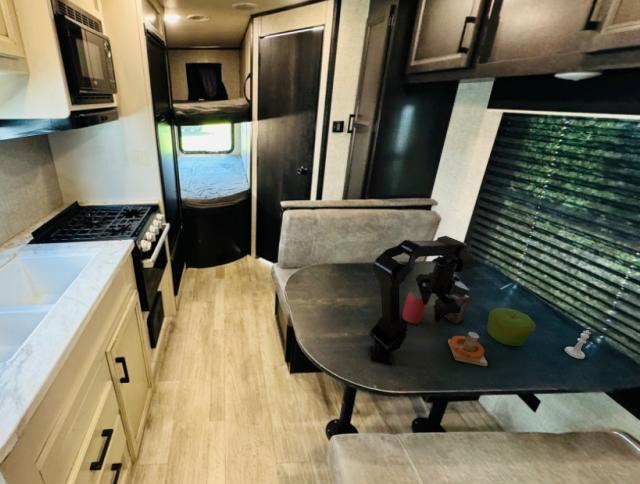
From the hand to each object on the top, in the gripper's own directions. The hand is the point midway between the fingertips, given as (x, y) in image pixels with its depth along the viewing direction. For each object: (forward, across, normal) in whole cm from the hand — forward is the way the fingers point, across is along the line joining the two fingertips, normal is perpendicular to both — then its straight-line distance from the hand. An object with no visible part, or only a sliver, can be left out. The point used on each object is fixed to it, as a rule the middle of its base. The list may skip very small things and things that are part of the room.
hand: (430, 312), depth 108 cm
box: (+12, +13, -16) cm, 24 cm away
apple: (+12, +3, -29) cm, 32 cm away
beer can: (+12, +11, 0) cm, 17 cm away
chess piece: (+12, -3, -48) cm, 50 cm away
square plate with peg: (+12, -6, -12) cm, 18 cm away
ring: (+11, -5, -12) cm, 17 cm away
